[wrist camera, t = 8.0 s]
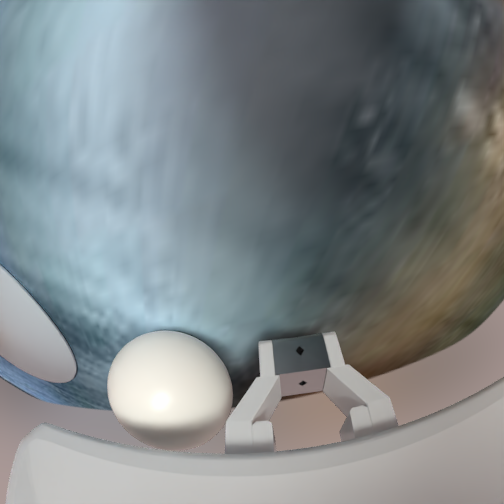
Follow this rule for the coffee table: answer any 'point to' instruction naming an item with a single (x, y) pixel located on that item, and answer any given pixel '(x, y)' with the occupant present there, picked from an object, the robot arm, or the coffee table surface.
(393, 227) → the coffee table surface
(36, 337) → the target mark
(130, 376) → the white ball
